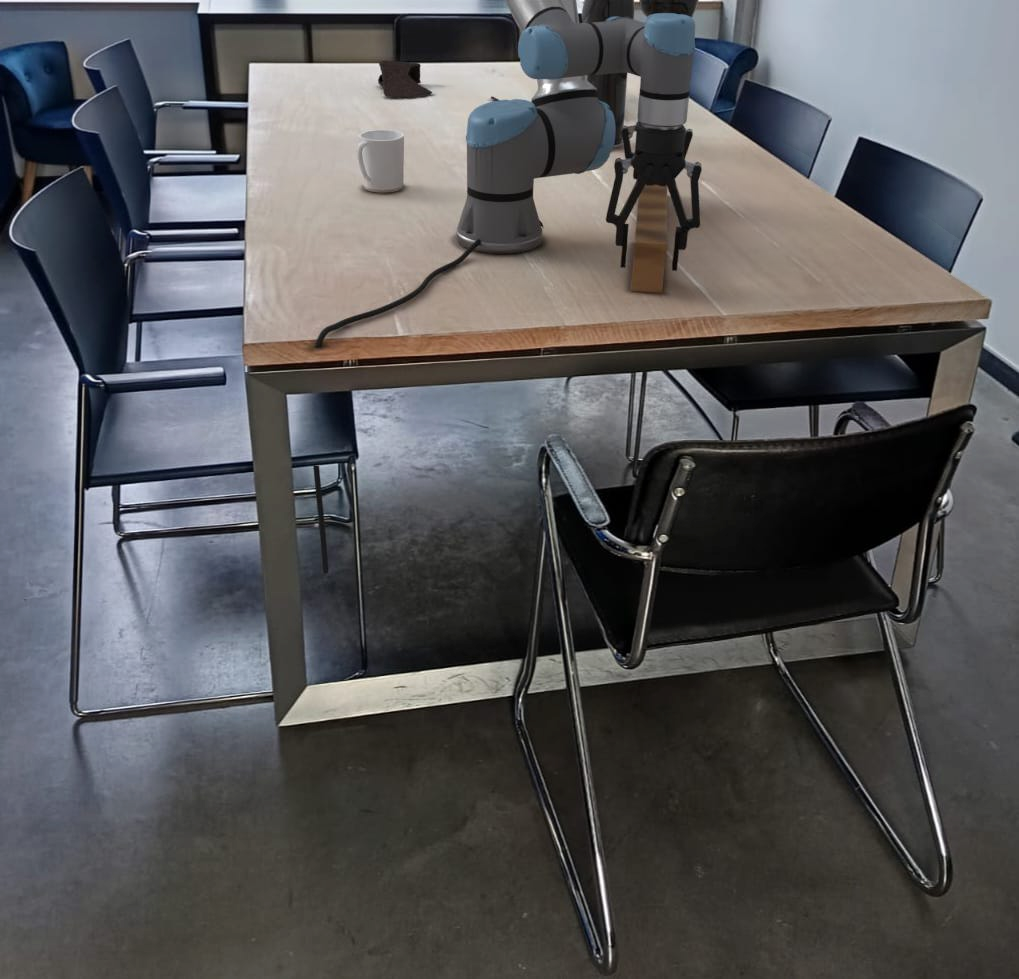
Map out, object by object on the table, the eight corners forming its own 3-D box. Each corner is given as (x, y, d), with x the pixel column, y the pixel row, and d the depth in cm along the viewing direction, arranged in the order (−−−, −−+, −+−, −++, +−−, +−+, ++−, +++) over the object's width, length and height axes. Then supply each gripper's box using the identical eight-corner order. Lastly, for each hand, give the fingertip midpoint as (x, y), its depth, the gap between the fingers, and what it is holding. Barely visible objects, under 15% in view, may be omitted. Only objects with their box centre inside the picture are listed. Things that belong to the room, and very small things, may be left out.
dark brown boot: (443, 87, 294) (392, 77, 287) (436, 115, 299) (385, 106, 292) (421, 62, 307) (371, 52, 300) (414, 89, 311) (365, 80, 304)
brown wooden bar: (662, 293, 176) (666, 244, 171) (630, 291, 176) (634, 242, 172) (663, 191, 221) (667, 150, 217) (639, 190, 222) (642, 149, 218)
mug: (383, 178, 227) (381, 127, 222) (414, 186, 223) (413, 135, 217) (344, 189, 220) (341, 137, 215) (376, 198, 215) (373, 145, 210)
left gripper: (728, 121, 170) (711, 262, 182) (596, 115, 172) (587, 254, 184) (730, 133, 164) (712, 278, 176) (593, 126, 166) (584, 270, 178)
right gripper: (698, 89, 208) (689, 178, 217) (623, 86, 209) (616, 174, 218) (699, 98, 201) (689, 190, 211) (621, 94, 203) (615, 185, 212)
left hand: (648, 266), depth 180 cm, fingers open, 8 cm apart
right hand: (652, 181), depth 214 cm, fingers open, 5 cm apart
